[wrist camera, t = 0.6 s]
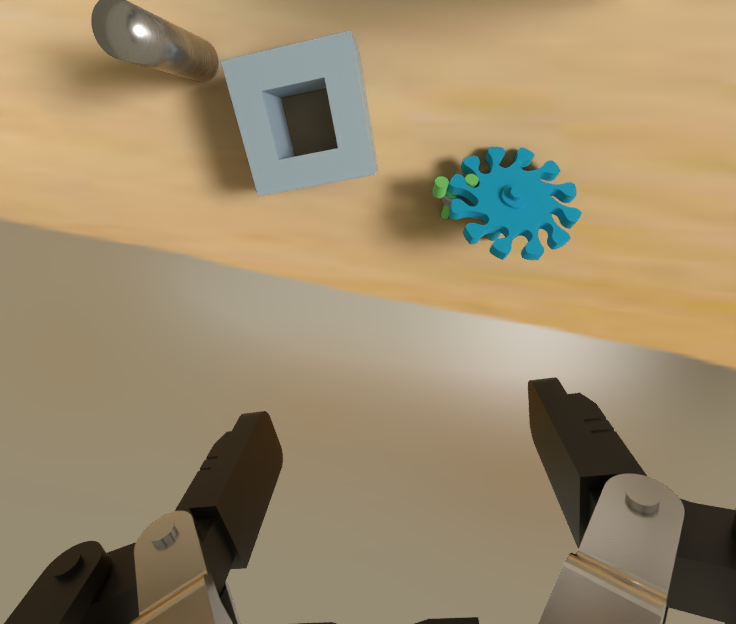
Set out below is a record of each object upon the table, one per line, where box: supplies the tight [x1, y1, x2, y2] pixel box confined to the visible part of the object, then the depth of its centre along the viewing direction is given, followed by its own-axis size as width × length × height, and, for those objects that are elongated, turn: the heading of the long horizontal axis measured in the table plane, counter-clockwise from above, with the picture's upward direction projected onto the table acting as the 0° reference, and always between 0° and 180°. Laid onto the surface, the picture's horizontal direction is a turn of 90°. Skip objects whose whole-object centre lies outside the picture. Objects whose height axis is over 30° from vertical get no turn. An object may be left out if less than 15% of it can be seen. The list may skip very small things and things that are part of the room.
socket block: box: [221, 30, 378, 196], centre depth 31 cm, size 9×9×5 cm
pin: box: [92, 0, 218, 82], centre depth 27 cm, size 3×3×10 cm
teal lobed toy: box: [432, 147, 581, 260], centre depth 32 cm, size 11×6×10 cm
